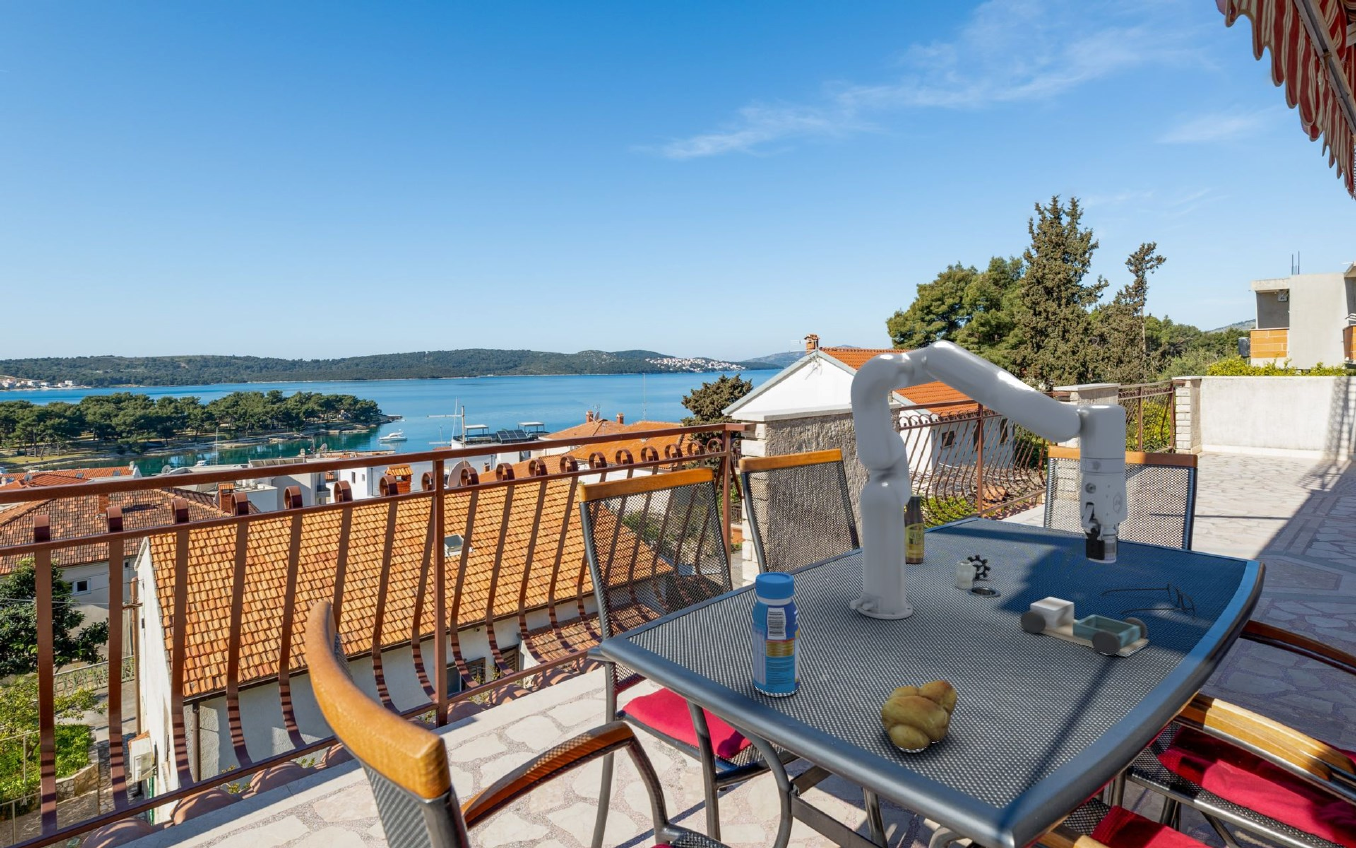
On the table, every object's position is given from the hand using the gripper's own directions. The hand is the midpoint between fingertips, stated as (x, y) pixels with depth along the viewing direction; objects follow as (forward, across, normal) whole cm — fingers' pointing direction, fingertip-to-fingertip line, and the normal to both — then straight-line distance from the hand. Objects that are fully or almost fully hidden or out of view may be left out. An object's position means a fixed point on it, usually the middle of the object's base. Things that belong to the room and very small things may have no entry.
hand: (1101, 555), depth 128 cm
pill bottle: (+1, 0, 0) cm, 1 cm away
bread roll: (+18, -60, 0) cm, 62 cm away
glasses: (+18, +29, +4) cm, 35 cm away
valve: (+18, +14, +38) cm, 44 cm away
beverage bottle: (+18, -66, +24) cm, 72 cm away
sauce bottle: (+18, +20, +60) cm, 66 cm away
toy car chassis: (+18, 0, +4) cm, 18 cm away
